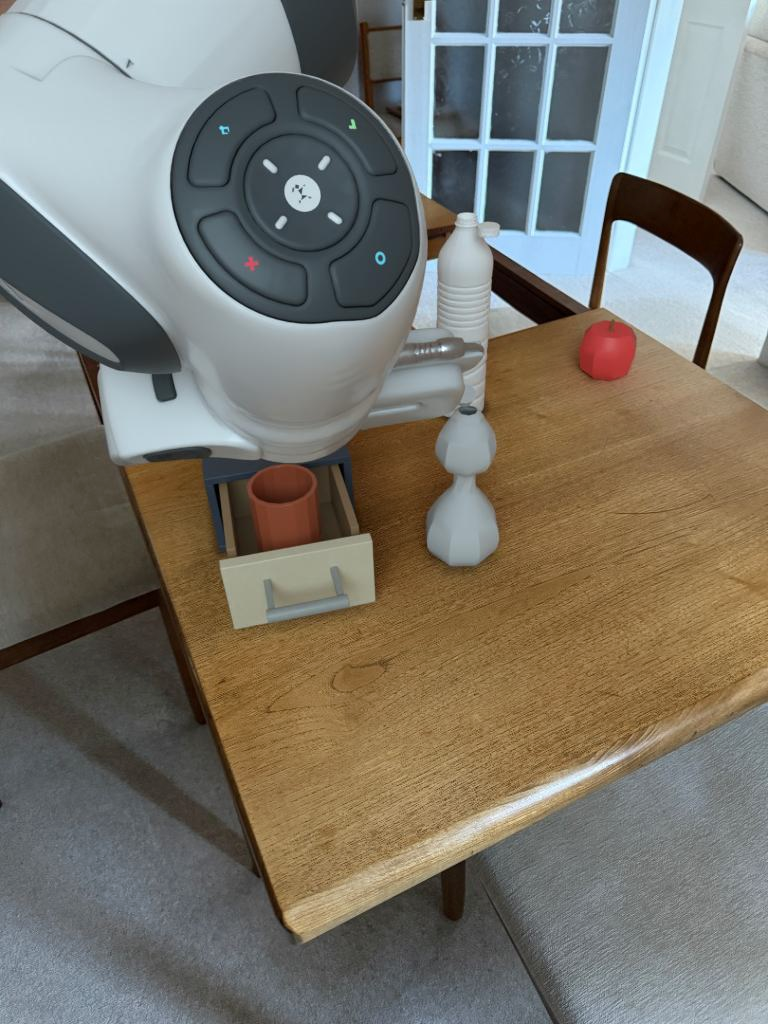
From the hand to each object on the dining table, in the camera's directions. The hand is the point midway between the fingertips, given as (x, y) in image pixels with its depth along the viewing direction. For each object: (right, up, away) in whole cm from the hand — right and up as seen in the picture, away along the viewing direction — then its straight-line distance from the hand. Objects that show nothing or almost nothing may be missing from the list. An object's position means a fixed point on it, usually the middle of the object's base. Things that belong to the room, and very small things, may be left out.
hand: (285, 430), depth 49 cm
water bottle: (+17, +8, +49) cm, 52 cm away
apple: (+38, +14, +55) cm, 68 cm away
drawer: (-2, -12, +24) cm, 27 cm away
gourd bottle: (+15, -10, +28) cm, 33 cm away
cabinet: (-6, -3, +36) cm, 37 cm away
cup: (-3, -10, +25) cm, 27 cm away
